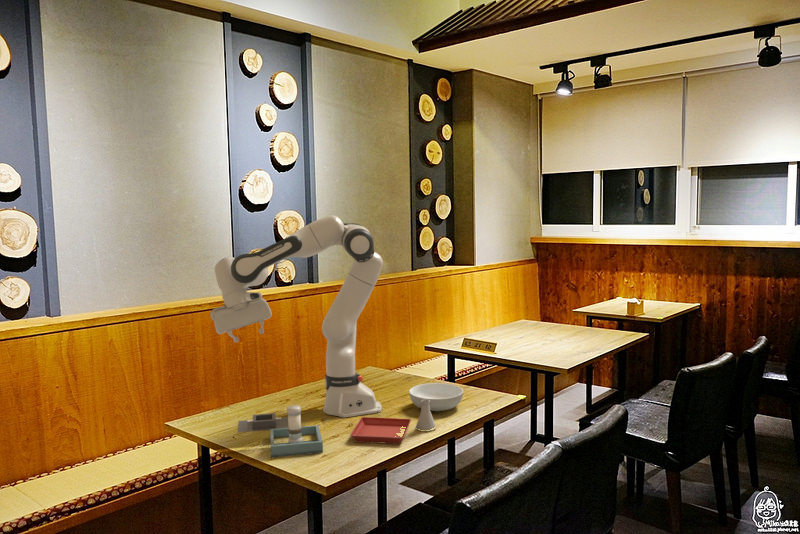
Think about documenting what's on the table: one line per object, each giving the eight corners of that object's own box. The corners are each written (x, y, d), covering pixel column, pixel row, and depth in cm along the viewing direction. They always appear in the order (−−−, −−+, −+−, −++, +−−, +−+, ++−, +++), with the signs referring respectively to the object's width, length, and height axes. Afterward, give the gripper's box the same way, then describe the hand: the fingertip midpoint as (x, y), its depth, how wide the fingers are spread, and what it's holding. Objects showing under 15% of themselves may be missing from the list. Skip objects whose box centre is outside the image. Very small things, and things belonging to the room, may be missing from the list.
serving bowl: (398, 406, 241) (398, 389, 240) (439, 396, 254) (438, 380, 253) (433, 420, 225) (433, 401, 224) (474, 408, 237) (474, 391, 237)
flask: (429, 433, 211) (429, 405, 210) (411, 430, 215) (411, 401, 214) (439, 427, 217) (439, 399, 216) (422, 424, 221) (421, 396, 220)
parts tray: (318, 435, 211) (318, 425, 210) (322, 452, 195) (322, 441, 195) (270, 439, 207) (270, 429, 207) (271, 457, 192) (270, 446, 191)
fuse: (302, 440, 204) (300, 404, 203) (302, 445, 199) (300, 408, 198) (288, 441, 203) (286, 406, 202) (288, 446, 199) (286, 410, 197)
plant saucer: (404, 447, 200) (403, 437, 200) (349, 444, 203) (349, 434, 203) (411, 427, 218) (411, 418, 218) (361, 425, 221) (361, 416, 220)
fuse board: (289, 419, 227) (289, 410, 227) (290, 430, 216) (290, 420, 215) (239, 423, 223) (238, 414, 223) (237, 435, 212) (237, 425, 211)
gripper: (209, 308, 216) (221, 345, 214) (265, 291, 224) (277, 327, 222) (208, 312, 221) (220, 348, 219) (262, 295, 230) (275, 330, 228)
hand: (249, 337), depth 221 cm, fingers open, 8 cm apart
